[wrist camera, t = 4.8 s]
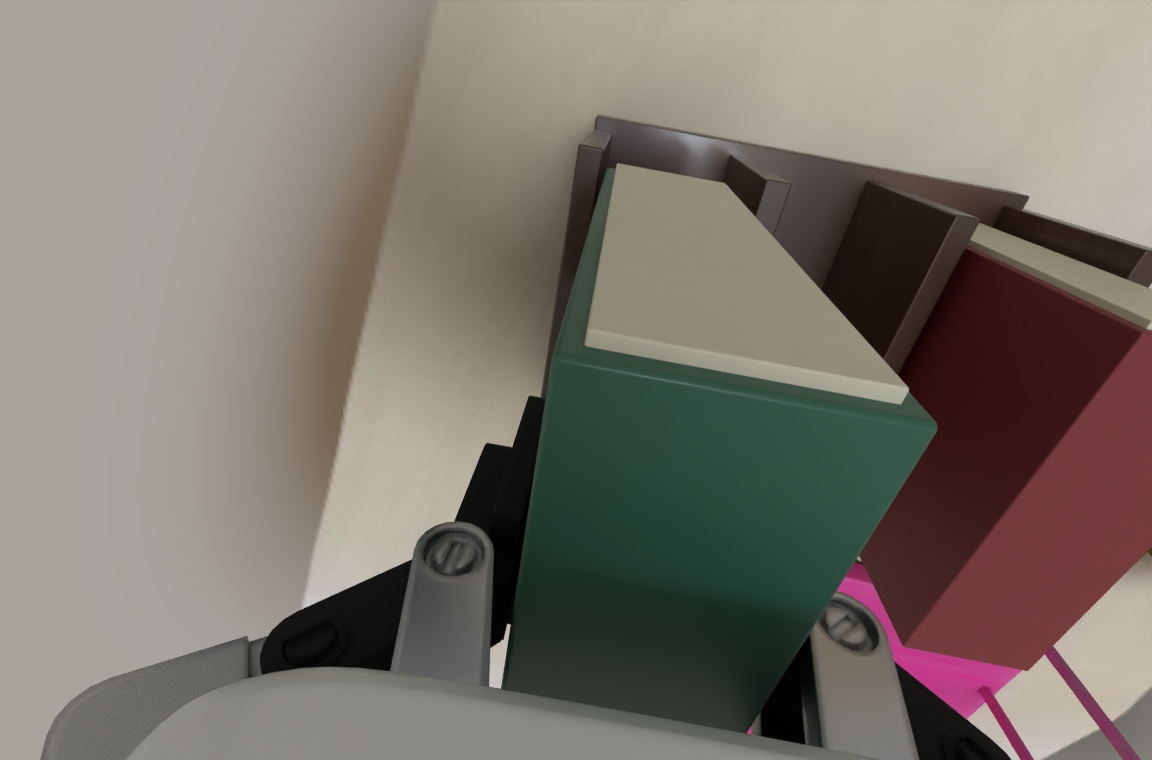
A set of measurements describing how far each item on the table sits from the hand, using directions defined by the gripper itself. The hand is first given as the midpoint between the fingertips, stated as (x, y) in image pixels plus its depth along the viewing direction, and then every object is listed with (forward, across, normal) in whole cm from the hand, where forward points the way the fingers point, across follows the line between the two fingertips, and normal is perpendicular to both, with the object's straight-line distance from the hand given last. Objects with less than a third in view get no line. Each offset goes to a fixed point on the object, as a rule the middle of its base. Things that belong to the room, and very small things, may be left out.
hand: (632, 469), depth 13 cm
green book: (+8, 0, 0) cm, 8 cm away
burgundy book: (+14, -12, +1) cm, 19 cm away
